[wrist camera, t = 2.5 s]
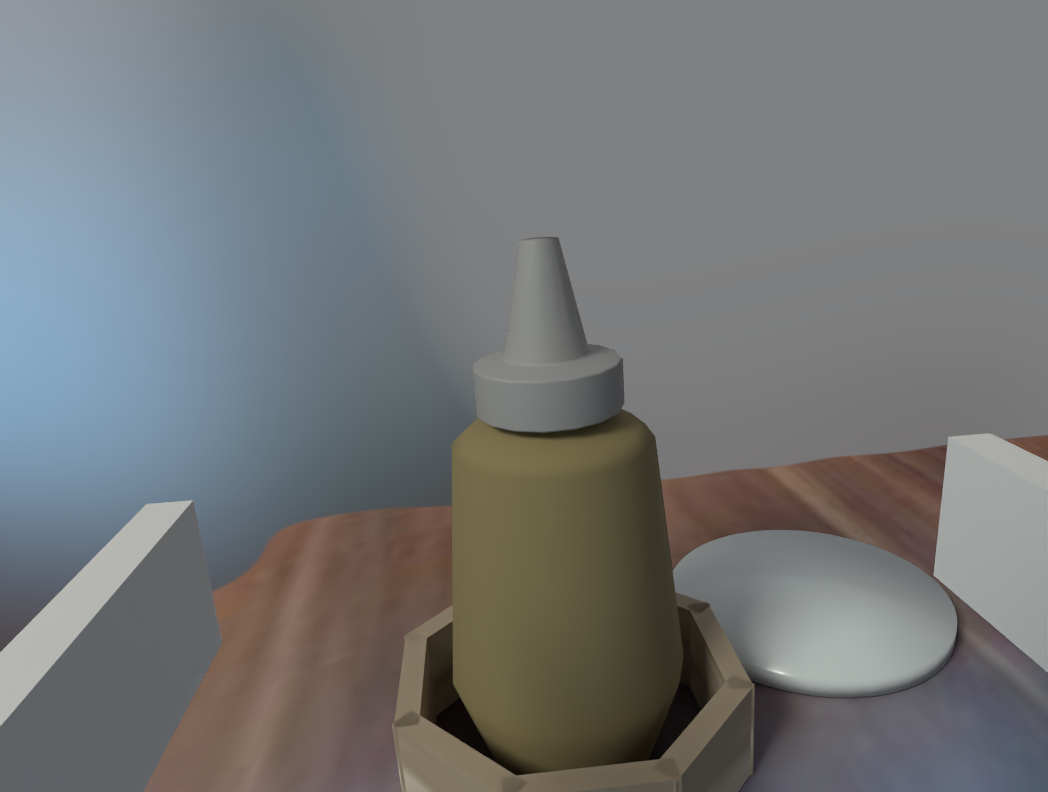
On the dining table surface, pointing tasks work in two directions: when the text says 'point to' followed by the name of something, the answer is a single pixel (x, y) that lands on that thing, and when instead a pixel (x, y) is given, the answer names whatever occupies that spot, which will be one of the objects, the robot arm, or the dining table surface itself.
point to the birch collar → (629, 788)
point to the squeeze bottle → (560, 545)
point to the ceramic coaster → (822, 612)
